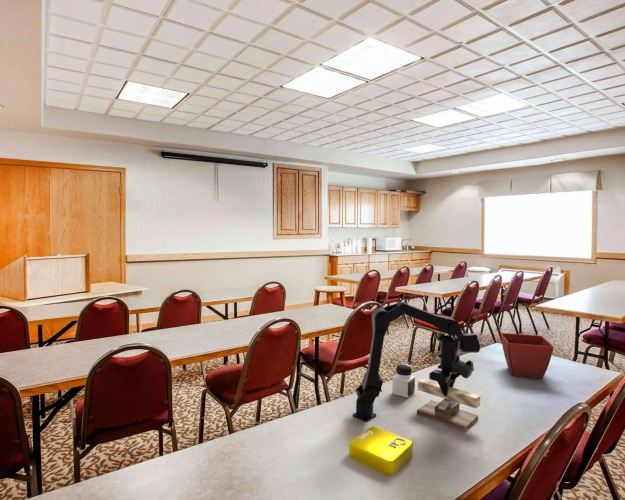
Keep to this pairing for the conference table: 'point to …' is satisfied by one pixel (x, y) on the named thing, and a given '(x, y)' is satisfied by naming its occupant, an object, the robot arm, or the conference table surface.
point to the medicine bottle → (403, 381)
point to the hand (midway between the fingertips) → (447, 394)
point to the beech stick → (450, 393)
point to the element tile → (381, 450)
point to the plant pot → (526, 354)
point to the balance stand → (448, 414)
